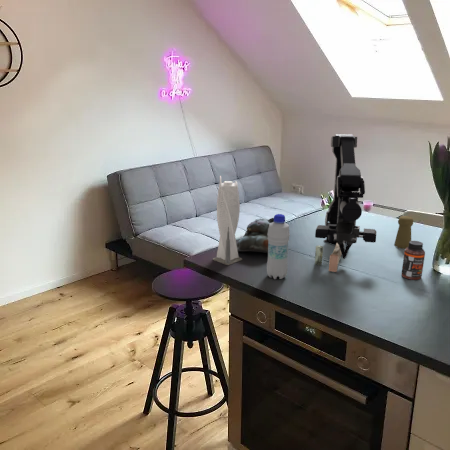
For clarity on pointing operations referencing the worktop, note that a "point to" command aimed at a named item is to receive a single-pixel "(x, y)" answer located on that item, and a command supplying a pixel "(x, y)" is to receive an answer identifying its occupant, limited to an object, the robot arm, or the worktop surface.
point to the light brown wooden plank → (335, 258)
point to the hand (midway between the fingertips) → (344, 258)
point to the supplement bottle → (413, 261)
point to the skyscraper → (227, 222)
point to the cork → (404, 232)
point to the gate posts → (319, 255)
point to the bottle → (278, 247)
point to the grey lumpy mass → (255, 236)
